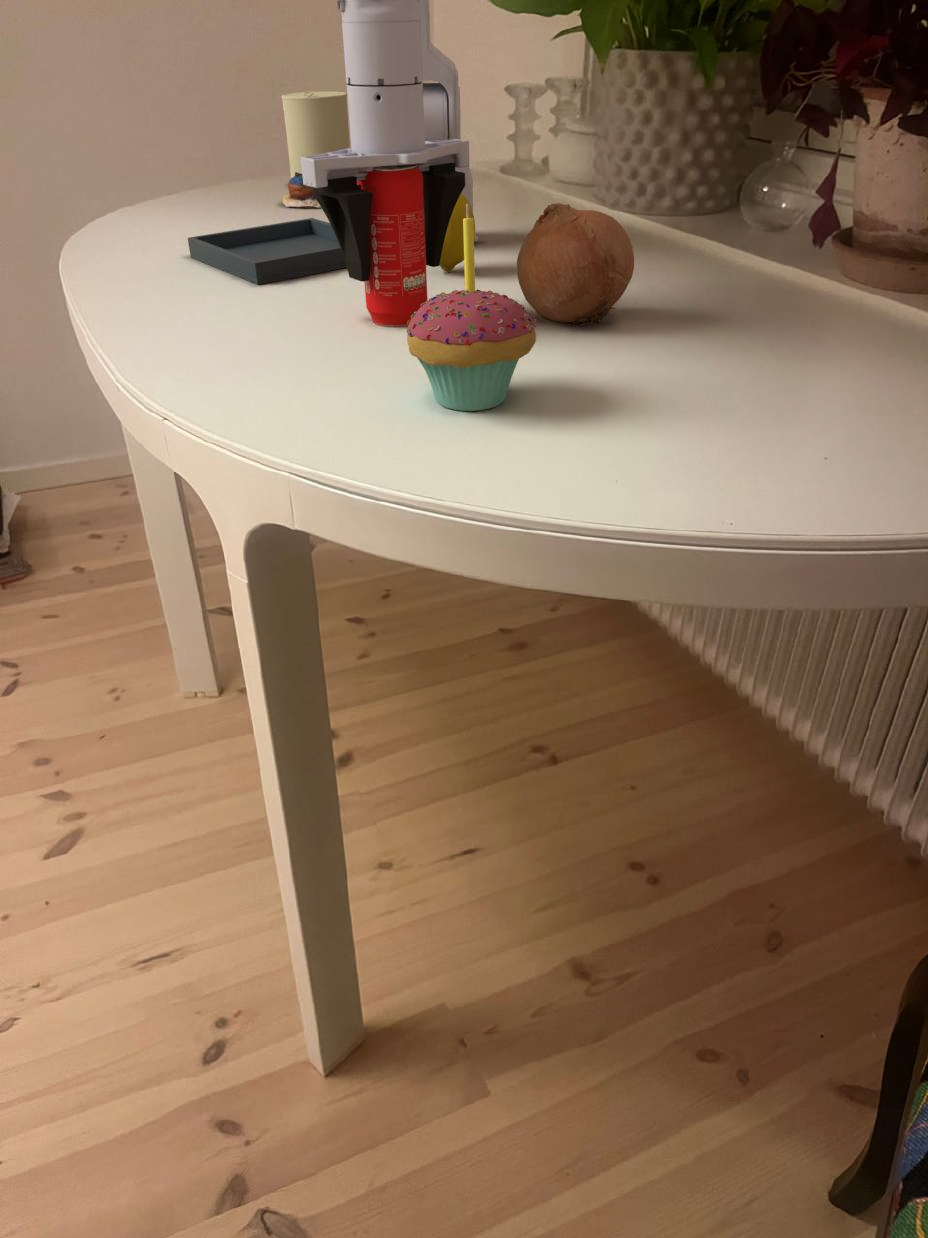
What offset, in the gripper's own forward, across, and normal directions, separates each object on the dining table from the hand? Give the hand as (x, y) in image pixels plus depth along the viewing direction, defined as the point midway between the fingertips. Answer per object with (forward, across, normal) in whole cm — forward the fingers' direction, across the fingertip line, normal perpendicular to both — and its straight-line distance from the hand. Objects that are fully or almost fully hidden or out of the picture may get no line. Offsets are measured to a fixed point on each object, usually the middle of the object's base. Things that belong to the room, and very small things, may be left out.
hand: (395, 271), depth 78 cm
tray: (+4, +4, +26) cm, 27 cm away
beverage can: (+4, 0, 0) cm, 4 cm away
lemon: (+4, +13, +10) cm, 17 cm away
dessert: (+4, +22, +52) cm, 57 cm away
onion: (+4, +11, -10) cm, 15 cm away
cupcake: (+4, -7, -19) cm, 21 cm away
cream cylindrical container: (+4, +31, +64) cm, 71 cm away
